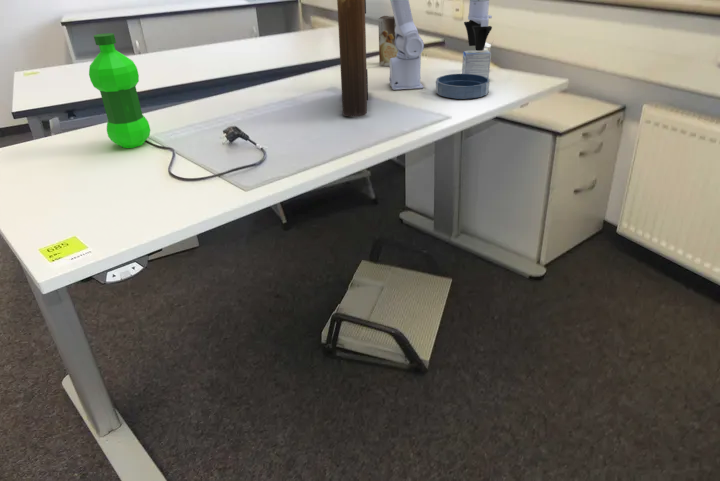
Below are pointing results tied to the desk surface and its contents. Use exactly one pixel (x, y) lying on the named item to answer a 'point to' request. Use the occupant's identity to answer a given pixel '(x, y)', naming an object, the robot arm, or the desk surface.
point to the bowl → (462, 86)
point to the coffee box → (386, 40)
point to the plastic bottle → (119, 93)
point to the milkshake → (487, 46)
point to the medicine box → (476, 62)
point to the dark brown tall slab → (353, 56)
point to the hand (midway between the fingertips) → (475, 48)
